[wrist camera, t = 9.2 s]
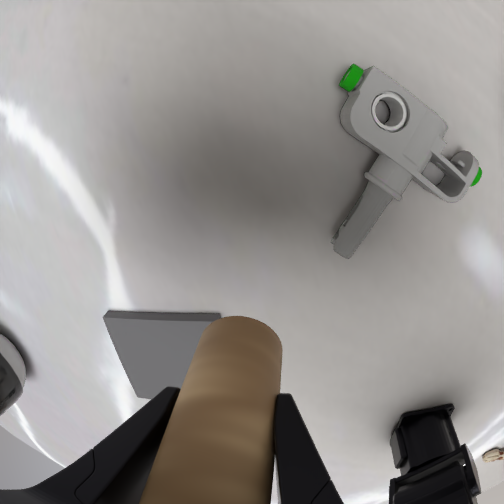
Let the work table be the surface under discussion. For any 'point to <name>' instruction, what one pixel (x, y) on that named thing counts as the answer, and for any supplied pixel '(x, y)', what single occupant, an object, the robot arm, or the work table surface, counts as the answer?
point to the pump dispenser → (10, 374)
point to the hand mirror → (493, 455)
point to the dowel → (222, 420)
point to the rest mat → (156, 346)
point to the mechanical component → (395, 151)
